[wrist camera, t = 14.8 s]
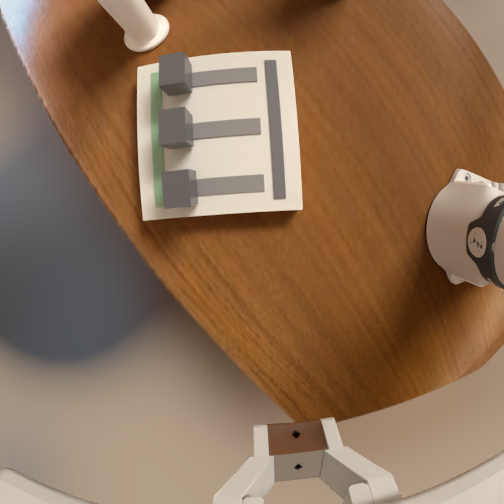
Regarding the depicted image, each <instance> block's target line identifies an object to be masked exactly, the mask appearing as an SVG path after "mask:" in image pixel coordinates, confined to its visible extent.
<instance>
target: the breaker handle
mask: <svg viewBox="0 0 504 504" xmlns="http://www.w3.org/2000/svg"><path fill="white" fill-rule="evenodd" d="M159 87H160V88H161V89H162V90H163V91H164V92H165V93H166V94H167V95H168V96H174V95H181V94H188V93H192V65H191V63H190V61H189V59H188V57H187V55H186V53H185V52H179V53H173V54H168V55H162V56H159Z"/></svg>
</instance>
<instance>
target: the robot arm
mask: <svg viewBox="0 0 504 504" xmlns="http://www.w3.org/2000/svg"><path fill="white" fill-rule="evenodd" d="M465 177H466V180H465ZM426 233H427V243H428V247H429V250H430V253H431V255H432V257H433V259H434V260H435V262H436V263H437V264H438V265H439V266H441V267H442V268H443V269H444V270H445V271H446V274H447V276H448V279H449V281H450V282H451V283H453V284H459V283H462V282H464V281H467V282H469V283H472V284H474V285H476V286H479V287H484V285H487V284H489V283H491V284H492V285H494V286H496V287H499V288H503V289H504V183H495V182H492V181H489V180H487V179H485V178H483V177H480V176H478V175H476V174H473V173H471V172H468V171H466V170H463V169H457V170H455V172H454V174H453V176H452V178H451V180H450V182H449V184H448V185H447V186H446V187H445V188H443V189H442V190H441V191H440V192H439V194H438V195H437V196H436V198H435V199H434V201H433V203H432V206H431V208H430V211H429V215H428V219H427V229H426ZM267 429H268V430H267ZM314 477H320V478H321V479H322V480H323V481H324V482H325V483H326V484H327V485H328V486H329V487H330V488H331V489H332V490H333V491H335V492H336V493H337V494H338V495H339V496H340V497H341V498H342V499H344V502H343V504H504V450H503V451H502V452H500V453H498V454H497V455H495V456H494V457H492V458H490V459H488V460H487V461H485V462H483V463H481V464H480V465H478V466H476V467H474V468H472V469H470V470H468V471H466V472H464V473H462V474H460V475H458V476H456V477H454V478H452V479H450V480H448V481H446V482H443V483H441V484H439V485H436V486H434V487H432V488H429V489H427V490H424V491H422V492H419V493H416V494H414V495H411V496H408V497H405V498H402V497H401V495H400V492H399V490H398V488H397V485H396V483H395V480H394V478H393V476H392V474H391V473H389V472H387V471H386V470H384V469H382V468H381V467H379V466H377V465H376V464H374V463H373V462H371V461H369V460H368V459H366V458H365V457H363V456H362V455H360V454H358V453H357V452H355V451H354V450H352V449H351V448H349V447H348V446H346V447H344V446H343V443H342V440H341V437H340V434H339V431H338V428H337V425H336V422H335V419H334V418H333V417H330V418H324V419H316V420H309V421H301V422H293V423H279V424H264V425H253V457H249V458H248V459H247V460H246V461H245V462H244V464H243V465H242V466H241V467H240V468H239V469H238V470H237V471H236V472H235V474H234V475H233V476H232V477H231V478H230V479H229V480H228V481H227V482H226V483H225V485H223V486H222V488H221V489H220V490H219V491H218V492H217V493H216V494H215V495H214V496H213V504H264V498H265V496H266V495H267V493H268V492H269V490H270V489H271V487H272V486H273V484H274V482H277V481H287V480H294V479H305V478H314ZM0 504H97V503H93V502H90V501H87V500H84V499H81V498H78V497H75V496H73V495H70V494H67V493H64V492H62V491H59V490H57V489H55V488H52V487H50V486H47V485H45V484H43V483H41V482H38V481H36V480H34V479H32V478H30V477H28V476H26V475H24V474H22V473H20V472H18V471H16V470H13V469H11V468H3V469H0Z"/></svg>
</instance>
